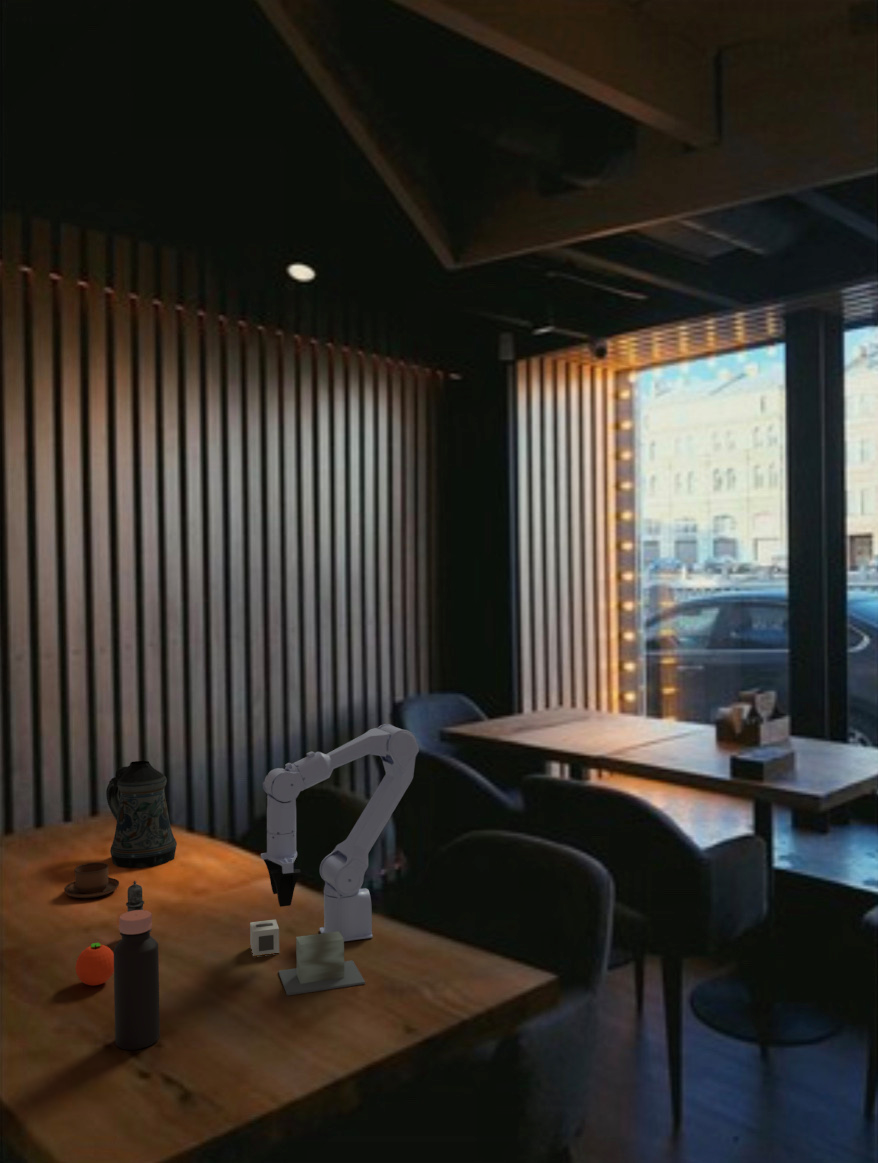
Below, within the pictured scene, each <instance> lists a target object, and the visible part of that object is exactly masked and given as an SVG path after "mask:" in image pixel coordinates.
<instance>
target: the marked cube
mask: <svg viewBox="0 0 878 1163" xmlns="http://www.w3.org/2000/svg"><path fill="white" fill-rule="evenodd" d="M249 929H250V930H249V932H250V934H249V937H250V942H249V943H250V945H251V947H250V950H251V949H252V951H251V954H252V953H253V954H252V957H253V956H254V955H262V954H271V953H279V954H280V928H279V925H278V922H277V919H269V920H261V921H259V920H258V921H252V922H251V921H250V923H249ZM250 945H249V946H250Z"/></svg>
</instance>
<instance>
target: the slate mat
mask: <svg viewBox="0 0 878 1163" xmlns="http://www.w3.org/2000/svg"><path fill="white" fill-rule="evenodd" d="M278 975H279V978H280V980H281V983H282V985H283V988H284V991H285V993H286V996H293V995H300V994H308V993H312V992H320V991H329V990H335V989H339V988H347V987H354V986H355V987H356V986H361V985H365V984H366V981H365V979H364V978H363V975H362V973H361V972H360V970H359V968H358V967H357V965H356V963H355V962H354V960H344V978H337V979H331V980H324V981H317V982H310V983H303V984H300V982H299V979H298V977H297V967H296V968H287V969H280V970H278Z"/></svg>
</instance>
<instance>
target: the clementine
mask: <svg viewBox="0 0 878 1163" xmlns="http://www.w3.org/2000/svg"><path fill="white" fill-rule="evenodd" d="M74 969H75V974H76V976H77V977H78V980H80V981H81V982H82V984H85V985H86V986H87V985H88V986H92V987H93V986H94V987H95V986H99V985H102V984H104V983H106V982H107V981H108V980H110V979H111V977H112V976H113V975H114V950H112V949H111V948H110V947H109V946H107V945H105V944H101V943H100V942H95V943H91V945H90V946H87V947H85V949H83V950H82V951H81V953H80V954H79V955H78V957H77V959H76V962H75V968H74Z"/></svg>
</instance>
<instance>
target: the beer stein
mask: <svg viewBox="0 0 878 1163" xmlns="http://www.w3.org/2000/svg"><path fill="white" fill-rule="evenodd" d="M114 775H115V776H114V777H113V778H111V779H110V780H109V781H108V785H107V786H106V787H107V788H106V791H105V797H106V802H107V806H108V807H109V809H110V812H111V814H112V816H113V817H114V819H115V820H116V825H115V831H114V837H113V840H112V843H111V846H110V856H111V860H112V865H114V866H116V867H119V868H127V869H143V868H151V867H152V868H153V867H156V866H161V865H164V864H167V863H169V862H171V861H173V860H175V856H176V850H177V845H178V843H177V840H176V838H175V836H174V834H173V831H172V826H171V823H170V816H169V811H168V806H167V805H168V804H167V801H166V800H167V799H166V794H165V787H166V785H167V782H168V781H167V780H168V779H167V777H166V776H165V774H164V773H162V772H160V771H159V770H157V769H156V768H154V767H153V766H152V765H151V763H150V761H148V760H136V761H135V760H134V761H131V762H130V763H129V765H127V766H121V767H120V768H118V769H117V770H116V771H115V774H114Z"/></svg>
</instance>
